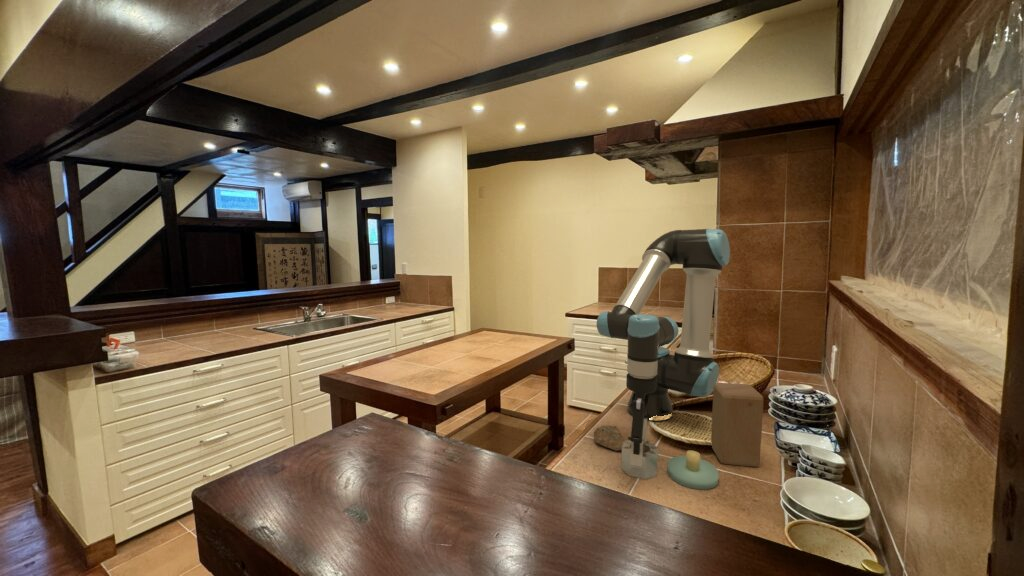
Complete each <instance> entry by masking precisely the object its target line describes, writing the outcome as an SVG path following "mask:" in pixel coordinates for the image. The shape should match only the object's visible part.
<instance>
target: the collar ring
mask: <svg viewBox="0 0 1024 576" xmlns="http://www.w3.org/2000/svg"><path fill="white" fill-rule="evenodd" d="M658 451H659V447H658V446H656V445H655V444H653V443H652V442H650V441H649V440H646V441H644V440H643V453H642V467H641V466H636V465H631V440H628V439H627V440H625V441H624V442H623V446H622V450H621V466H620V467H621V470H622V471H624V473H626V474H627V475H628V476H629V477H632V478H637V479H640V480H641V479H642V480H648V479H651V478H652V479H653V478H655V477H657V474H658V473H657V472H658V456H659V455H658V453H659V452H658Z"/></svg>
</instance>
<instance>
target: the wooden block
mask: <svg viewBox="0 0 1024 576" xmlns="http://www.w3.org/2000/svg"><path fill="white" fill-rule="evenodd" d="M763 413H764V396H763V395H762V394H761V393H760V392H758V391H757V390H756V389H755V388H754V387H753V386H752V385H750V384H749V383H729V382H728V383H727V382H716V383H715V384H714V388H713V391H712V413H711V414H712V415H711V433H710V434H711V435H710V443H711V442H712V447H711V449H712V450H713V452H714V453H715V456H716V457H717V459H718V460H719V462H720V463H721V464H724V465H734V466H746V467H756V468H757V467H759V466H760V461H761V448H762V447H761V445H762V431H763V430H762V429H763V417H764V415H763Z"/></svg>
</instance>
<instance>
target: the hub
mask: <svg viewBox="0 0 1024 576" xmlns="http://www.w3.org/2000/svg"><path fill="white" fill-rule="evenodd" d="M719 474H720V473H719V471H718V469H717V467H715V466H714V465H713V464H712V463H711V462H709V461H706V460H704V459H702V458H701V454H700V453H699V452H698V451H695V450H686V455H677V456H673V457H671V458H669V460H668V461H667V475H668V476H669V477H670V478H671V480H673V481H674V482H676V483H677V484H679V485H681V486H683V487H686V488H689V489H693V490H699V491H701V490H703V491H704V490H705V491H706V490H712V489H713V488H716V486H718V484H719Z"/></svg>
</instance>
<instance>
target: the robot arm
mask: <svg viewBox="0 0 1024 576" xmlns="http://www.w3.org/2000/svg"><path fill="white" fill-rule="evenodd" d="M730 259H731V247H730V241H729V238H728V236H727V233H726V232H725V231H724V230H722V229H719V228H718V229H716V228H714V229H712V228H702V229H700V228H699V229H675V230H672V231H671V230H670V231H668V232H666V233H664V234H662V235H661V236H659V237H658V238H656V239H655V240H654V241H652V242H651V244H649V245H648V247H646V249H645V251H644V252H643V254H642V256H641V260H642V262H641V263H640V265H639V266H638V268H637V269H636V271H635V273H634V275H633V276H632V277H631V279H630V281H629V282H628V284H627V285H626V287H625V289H624V291H622V294H621V295H620V297H619V298H618V300H617V302H616V304H615V305H614V306H613V308H612V309H611V311H603V312H600V313H599V314H598V317H597V320H596V329H597V331H598V334H600V335H601V336H604V337H607V338H611V339H618V340H624V341H627V359H625V360H624V364H626V365H627V366H626V372H627V374H626V385H625V386H626V388H627V389H628V390H629V391H632V392H631V394H630V396H629V399H628V403H627V412H628V414H630V415H631V416H632V419H631V421H632V422H631V432H630V436H628V439H627V441H628V440H631V465H636V466H641V467H642V453H643V440H644V441H648V440H647V437H648V435H647V433H648V432H647V431H648V421H649V418H651V417H653V416H656V415H657V416H664V415H668V414H671V413H672V412H673V411H674V410H673V409H674V408H673V405H672V402H671V399H670V396H669V390H670V391H675V392H679V393H683V394H687V395H689V396H692V397H694V396H695V397H699V398H700V397H701V398H708V397H709V396H710V395H711V394H713V388H714V384H715V383H718V378H719V375H720V374H719V373H720V369H719V368H720V366H719V364H718V363H717V362H716V361H714V354H713V353H712V352H711V351H710V342H711V341H710V340H711V330H712V320H713V319H712V318H713V310H714V309H713V308H714V300H715V299H714V298H715V288H716V279H717V278H716V277H717V276H718V275H719V274H721V273H722V271H723V270H722V269H723V267H725V266H727V265H728V264H729V263H730ZM672 265H682V270H683V272H684V273H685V274H686V279H685V280H686V281H685V290H684V291H685V292H684V302H683V314H682V323H681V333H680V334H681V335H680V342H679V343H680V345H679V347H677V348H676V349H674V353H673V354H671V352H670V349H669V348H666V347H663V346H666V345H669V344H671V343H672V342H674V340H676V339H677V337H678V335H679V326H678V324H677V322H676V321H675V320H674V319H672V318H671V317H668V316H656V315H652V314H646V313H645V314H643V313H642V314H641V312H642V310H643V308H644V306H645V304H646V303H647V301H648V300H649V298H650V296H651V294H652V293H653V291H654V289H655V287H656V285H657V284H658V282H659V280H660V278H661V276H662V274H663V273H664V272H667V271H668V270H669V268H670V267H671V266H672ZM673 413H674V412H673ZM649 422H650V421H649Z"/></svg>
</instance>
